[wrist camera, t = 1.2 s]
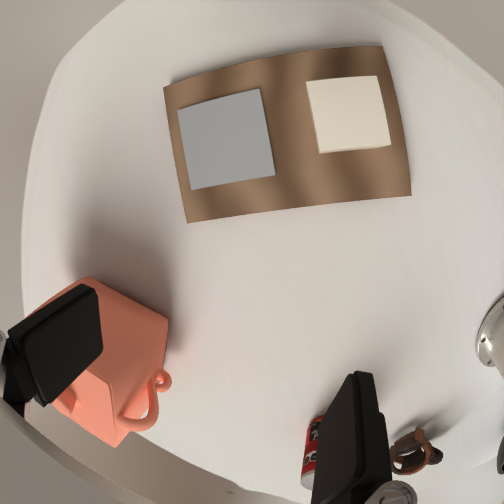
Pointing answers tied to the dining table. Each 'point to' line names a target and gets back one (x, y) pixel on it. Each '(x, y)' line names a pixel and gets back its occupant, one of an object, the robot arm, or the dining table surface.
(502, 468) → the coal bowl
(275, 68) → the base board
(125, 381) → the teapot
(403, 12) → the dining table surface
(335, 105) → the cream cube
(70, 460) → the robot arm
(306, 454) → the canned food
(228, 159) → the pad
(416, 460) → the pottery mug
